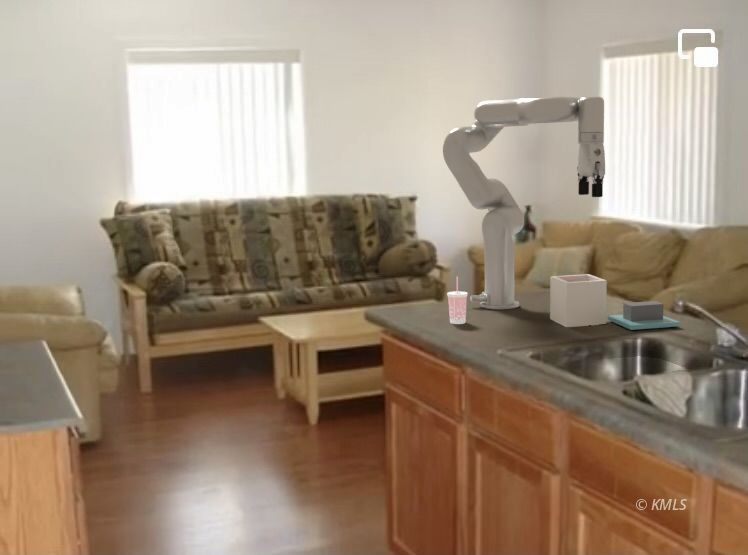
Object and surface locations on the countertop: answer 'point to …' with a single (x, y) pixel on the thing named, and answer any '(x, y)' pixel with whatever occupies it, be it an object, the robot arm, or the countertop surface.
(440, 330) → the countertop surface
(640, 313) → the teal lid
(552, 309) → the off-white crate
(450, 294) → the beverage cup
